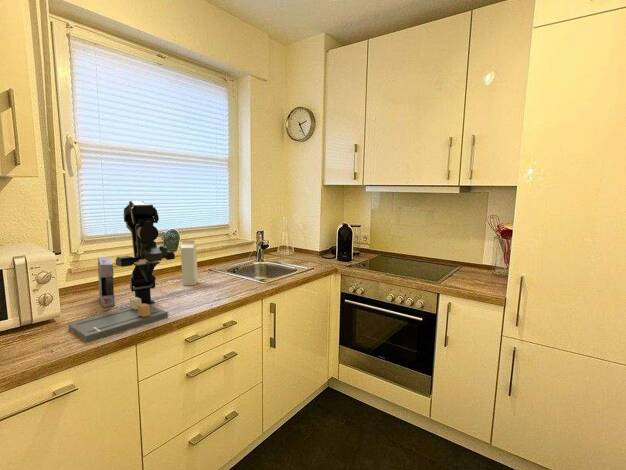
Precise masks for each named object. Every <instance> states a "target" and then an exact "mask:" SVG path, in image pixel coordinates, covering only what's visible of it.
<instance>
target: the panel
mask: <svg viewBox="0 0 626 470" xmlns="http://www.w3.org/2000/svg"><path fill="white" fill-rule="evenodd" d="M146 304H147V303H146ZM147 305H150V315H149V316H145V317H142V316H140V315H138V309H136V310H135V309H133V308H131V307H127V308H125V309H124V308H123V309H120V310H116V311H112V312H108V313H104V314H100V315H97V316H93V317H89V318H86V319H81V320H78V321H77V320H76V321H73V322H69V323H68V324H67V325H68V331H70V332H71V333H73V334H75V335H76V336H77V337H78V338H79V339H81V340H83V341H84V342H85V343H88V342H92V341H95V340H98V339H102V338H104V337H108V336H112V335H114V334H118V333H122V332H125V331H127V330H132V329H134V328H138V327H141V326H144V325H148V324H150V323H153V322H157V321H160V320H164V319H167V318H168V317H169V316H168V315H169V314H168V313H169V312H168V311H166V310H164V309H161V308H159V307H156V306H154V305H152V304H147Z"/></svg>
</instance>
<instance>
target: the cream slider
mask: <svg viewBox="0 0 626 470" xmlns="http://www.w3.org/2000/svg"><path fill="white" fill-rule="evenodd" d="M139 304H141V299H140V298H138V297H135V296H134V297H130V298H129V308H133V309H135V310H136V309H138V306H137V305H139Z"/></svg>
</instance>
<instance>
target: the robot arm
mask: <svg viewBox="0 0 626 470" xmlns="http://www.w3.org/2000/svg"><path fill="white" fill-rule="evenodd" d="M159 220H160V217H159V214H158V210H157V208H156V207H155V206H154V205H153V203H144V200H141V199H138V200H137V199H133V200H132V199H131V200H129V201H128V205H127V206H126V207H124V208H123V221H124V223H125V226H126V228H127V229H128V231H130V233H131V241H132V249H133V256H130V255H124V256H117V257H116V258H115V266H118V267H121V268H123V267H130V266H134V268H133V270H132V272H131V276H130V279H129V280H130V281H129V289H130V291H131V292H134V297H138V298H140V299H141V304H143V303H145V304H146V303H147V304H149V305H152V304H155V300H152V296H151V289H155V288H156V276H155V274H154V273H153V272H154V270H155V267H156V266H157V265H159V264H160V263H161V262H160V261H162V260H163V259H165V260H166V261H171V260H175V259H176V255H175V252H174V251H172V250H168V247H167V246H166V245H162V246H159V247H158V246H157V242H156V241H155V240H157V238H158V237H159V230H158V228H157V227H156V226H154V224H158V223H159Z"/></svg>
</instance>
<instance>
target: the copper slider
mask: <svg viewBox="0 0 626 470" xmlns="http://www.w3.org/2000/svg"><path fill="white" fill-rule="evenodd" d="M150 305H151V304H149V305H147V304H145V303H143V304H139V305H137V306H138V315H140V316H142V317H145V316H149V315H150Z"/></svg>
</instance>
